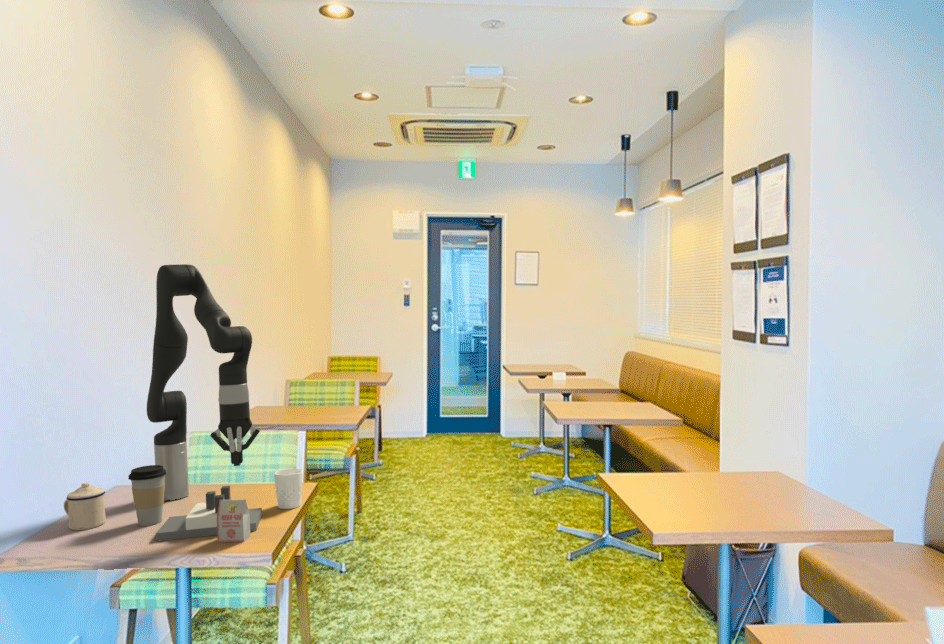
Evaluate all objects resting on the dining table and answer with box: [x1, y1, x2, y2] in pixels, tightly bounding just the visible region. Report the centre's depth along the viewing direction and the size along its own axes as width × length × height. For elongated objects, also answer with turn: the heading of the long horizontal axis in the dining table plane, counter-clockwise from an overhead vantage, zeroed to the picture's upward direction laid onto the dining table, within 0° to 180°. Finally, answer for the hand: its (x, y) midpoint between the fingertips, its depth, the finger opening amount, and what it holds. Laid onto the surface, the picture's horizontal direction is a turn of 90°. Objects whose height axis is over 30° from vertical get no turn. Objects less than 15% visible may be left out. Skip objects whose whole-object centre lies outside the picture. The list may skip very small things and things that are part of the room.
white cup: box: [274, 468, 303, 510], centre depth 183 cm, size 8×8×10 cm
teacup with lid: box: [63, 482, 107, 531], centre depth 173 cm, size 12×9×12 cm
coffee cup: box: [127, 464, 167, 527], centre depth 173 cm, size 9×9×15 cm
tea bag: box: [217, 499, 251, 543], centre depth 157 cm, size 4×7×10 cm, turn 85°
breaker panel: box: [155, 485, 263, 542], centre depth 167 cm, size 13×24×9 cm, turn 102°
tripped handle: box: [205, 490, 217, 509], centre depth 167 cm, size 2×2×4 cm
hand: (237, 465), depth 168 cm, fingers closed
